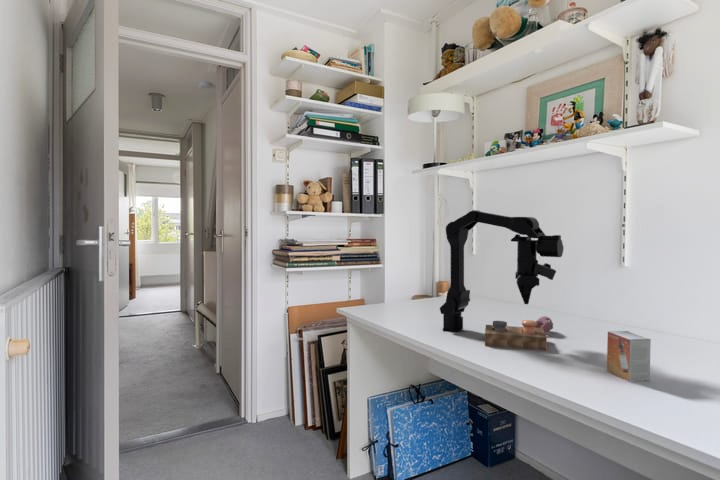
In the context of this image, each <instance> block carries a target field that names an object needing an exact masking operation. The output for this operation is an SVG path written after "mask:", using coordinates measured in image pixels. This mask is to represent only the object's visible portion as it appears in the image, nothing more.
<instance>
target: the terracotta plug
mask: <svg viewBox="0 0 720 480" xmlns="http://www.w3.org/2000/svg"><path fill="white" fill-rule="evenodd" d="M536 321H537V320H536ZM536 321H535V320H530V319H525V320H521V325H522V327H523V333H531V334H535V326H537V322H536Z"/></svg>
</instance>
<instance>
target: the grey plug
mask: <svg viewBox="0 0 720 480" xmlns="http://www.w3.org/2000/svg"><path fill="white" fill-rule="evenodd" d="M492 325H493V326H494V331H502V332H506V326H508V323H507V321H504V320H492Z"/></svg>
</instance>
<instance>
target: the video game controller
mask: <svg viewBox="0 0 720 480" xmlns="http://www.w3.org/2000/svg"><path fill="white" fill-rule="evenodd" d="M536 322H537V326H535V328H543V330H544V333H545V335H546V334H547V333H549V332H550V331H552V330H553V329H554V323H553V321H552V319H551V318H550V317H549V316H543V315H542V316H541V317H539V318H538V319H537V320H536Z"/></svg>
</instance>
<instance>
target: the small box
mask: <svg viewBox="0 0 720 480" xmlns="http://www.w3.org/2000/svg"><path fill="white" fill-rule="evenodd" d="M651 341H652V339H651V338H649V337H646V336H645V337H644V336H643V335H639V334H636V333H634V332H630V331H628V330H613V331H612V330H610V331H609V330H608V331H607V347H606V350H607V351H606V354H607V355H606V371H607V372H609V373H612V374H614V375H615V376H618V377H619V378H621V379H623V380H624V379H625V381H626V380H627V381H626V382H628V381H629V382H628V383H631V382H630V381H637V382H645V381H644V380H651V379H650V375H651V346H652V345H651Z"/></svg>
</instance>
